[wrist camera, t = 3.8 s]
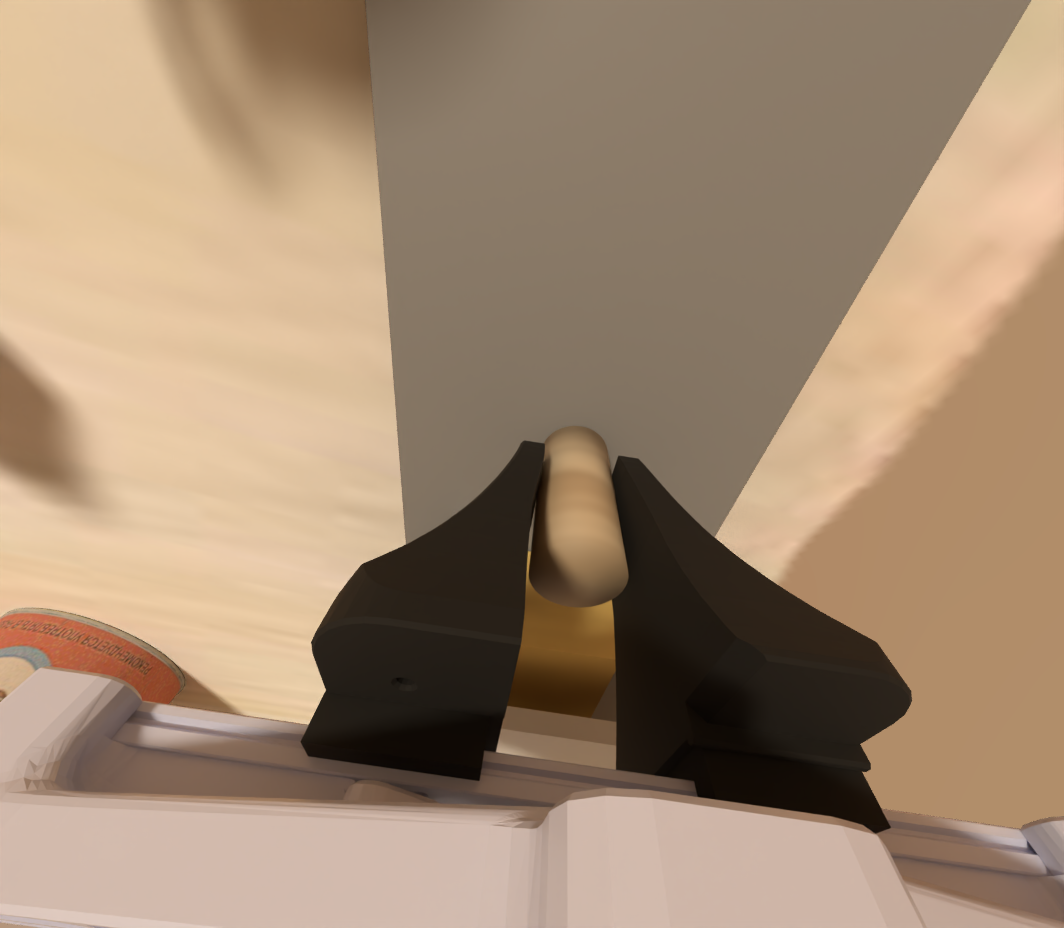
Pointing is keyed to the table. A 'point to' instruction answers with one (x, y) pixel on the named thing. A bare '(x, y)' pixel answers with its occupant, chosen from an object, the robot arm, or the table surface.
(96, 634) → the canned food
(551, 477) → the yellow block
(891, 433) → the table surface
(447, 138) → the plate
